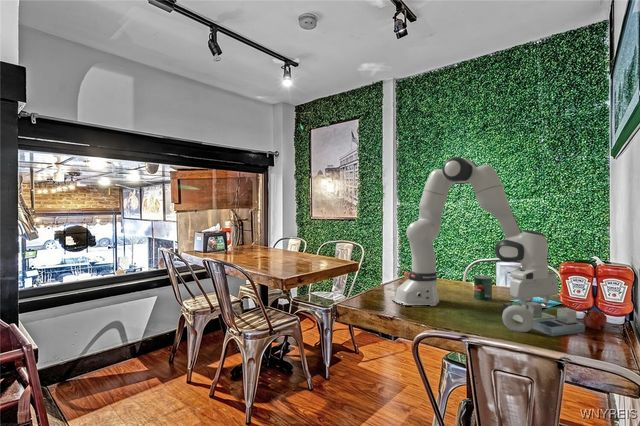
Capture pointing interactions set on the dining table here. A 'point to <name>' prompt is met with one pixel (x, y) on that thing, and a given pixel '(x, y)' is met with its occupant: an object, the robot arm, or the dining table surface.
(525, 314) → the donut
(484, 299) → the canned tomato
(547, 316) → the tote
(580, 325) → the pallet
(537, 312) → the billet
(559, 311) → the block
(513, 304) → the button
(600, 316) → the pomegranate
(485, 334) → the dining table surface
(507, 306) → the console
